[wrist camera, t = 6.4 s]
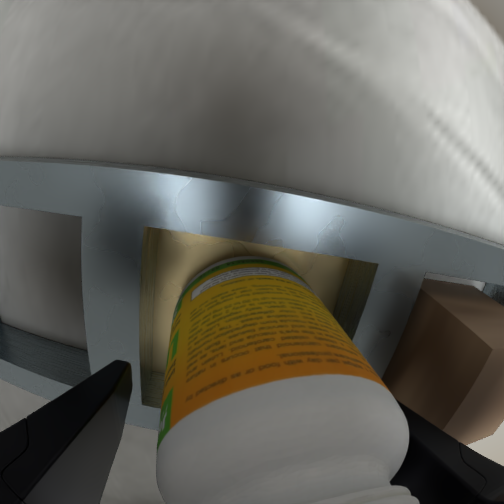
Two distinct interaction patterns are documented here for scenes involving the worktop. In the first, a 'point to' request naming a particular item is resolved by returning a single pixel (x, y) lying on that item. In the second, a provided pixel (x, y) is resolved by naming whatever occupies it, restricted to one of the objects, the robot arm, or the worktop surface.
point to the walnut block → (452, 360)
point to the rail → (210, 252)
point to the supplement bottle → (272, 398)
